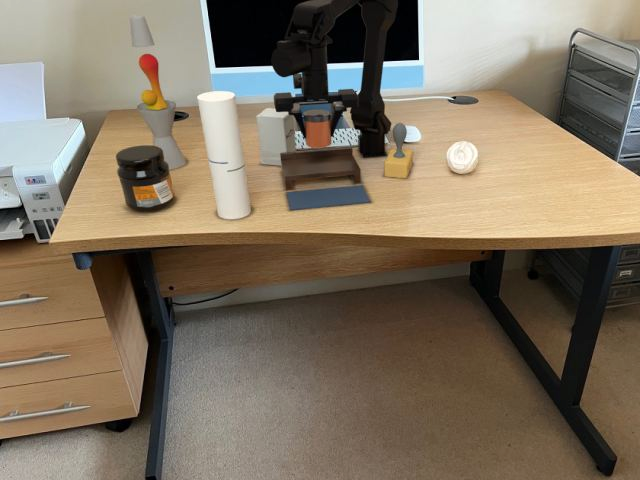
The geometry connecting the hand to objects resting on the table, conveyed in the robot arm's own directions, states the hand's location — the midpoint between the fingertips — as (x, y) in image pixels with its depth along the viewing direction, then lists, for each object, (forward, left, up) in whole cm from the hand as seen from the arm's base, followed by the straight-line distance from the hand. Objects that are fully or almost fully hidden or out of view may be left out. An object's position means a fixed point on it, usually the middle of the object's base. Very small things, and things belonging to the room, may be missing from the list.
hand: (318, 137), depth 135 cm
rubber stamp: (-20, -2, -11) cm, 23 cm away
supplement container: (+39, +5, -11) cm, 41 cm away
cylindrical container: (+21, +13, -11) cm, 27 cm away
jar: (0, 0, -2) cm, 2 cm away
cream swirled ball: (-35, +3, -11) cm, 37 cm away
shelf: (0, -1, -11) cm, 11 cm away
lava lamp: (+37, -19, -11) cm, 43 cm away
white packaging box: (+9, -15, -11) cm, 20 cm away
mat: (0, +11, -11) cm, 15 cm away
